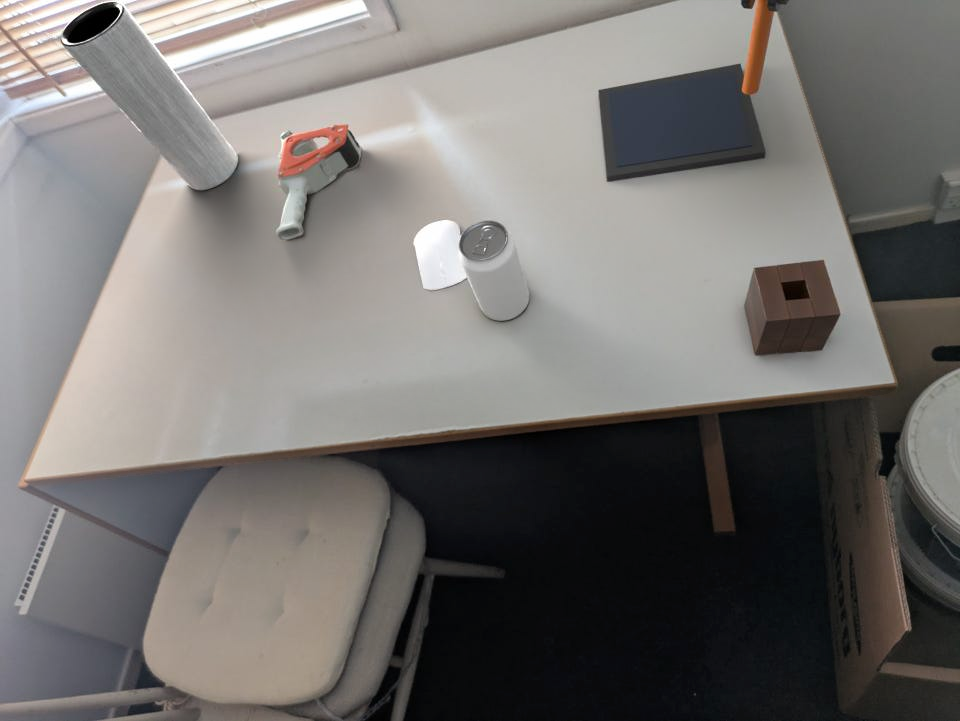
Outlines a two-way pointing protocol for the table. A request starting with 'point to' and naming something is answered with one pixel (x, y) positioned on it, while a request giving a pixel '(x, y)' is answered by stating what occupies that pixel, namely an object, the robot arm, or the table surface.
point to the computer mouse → (439, 255)
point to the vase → (149, 93)
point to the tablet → (678, 123)
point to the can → (494, 270)
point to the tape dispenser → (311, 169)
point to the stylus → (757, 47)
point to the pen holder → (791, 308)
